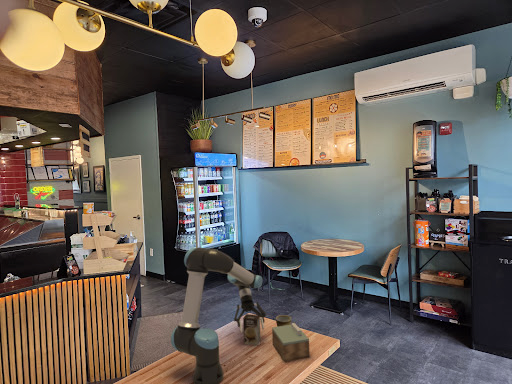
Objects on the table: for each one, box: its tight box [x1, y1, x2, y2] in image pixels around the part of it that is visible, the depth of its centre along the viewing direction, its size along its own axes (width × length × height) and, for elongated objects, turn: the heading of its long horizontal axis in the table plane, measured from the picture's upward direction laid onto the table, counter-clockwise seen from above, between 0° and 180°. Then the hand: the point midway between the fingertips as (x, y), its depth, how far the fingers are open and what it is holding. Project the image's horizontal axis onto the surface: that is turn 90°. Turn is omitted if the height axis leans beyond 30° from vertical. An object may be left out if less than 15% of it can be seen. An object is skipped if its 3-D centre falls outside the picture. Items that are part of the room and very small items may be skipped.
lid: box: [271, 322, 310, 345], centre depth 189 cm, size 15×20×4 cm
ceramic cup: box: [275, 314, 292, 327], centre depth 212 cm, size 13×10×10 cm
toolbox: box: [271, 329, 310, 363], centre depth 189 cm, size 15×20×9 cm
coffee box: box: [242, 314, 261, 346], centre depth 200 cm, size 9×6×16 cm
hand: (252, 330), depth 198 cm, fingers open, 13 cm apart
